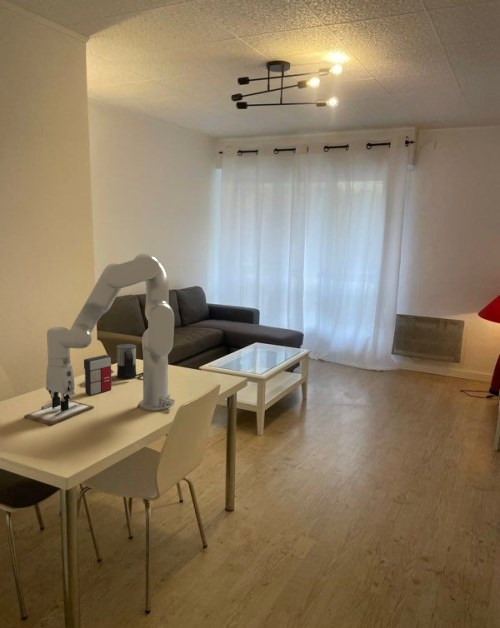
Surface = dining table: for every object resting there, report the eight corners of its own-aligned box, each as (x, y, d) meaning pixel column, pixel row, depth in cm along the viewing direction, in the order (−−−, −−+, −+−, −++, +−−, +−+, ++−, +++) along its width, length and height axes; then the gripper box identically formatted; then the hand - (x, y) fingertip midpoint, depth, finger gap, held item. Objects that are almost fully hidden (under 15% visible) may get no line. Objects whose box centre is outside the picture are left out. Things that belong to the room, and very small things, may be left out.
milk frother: (113, 375, 227) (112, 345, 225) (142, 370, 237) (142, 341, 235) (127, 383, 217) (127, 351, 214) (157, 377, 227) (157, 346, 225)
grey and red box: (90, 396, 198) (89, 361, 196) (84, 394, 201) (83, 359, 198) (112, 390, 207) (112, 356, 204) (106, 387, 209) (105, 354, 207)
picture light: (52, 417, 170) (52, 412, 170) (42, 416, 172) (42, 410, 171) (79, 405, 183) (79, 399, 183) (70, 403, 185) (69, 398, 184)
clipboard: (93, 408, 185) (93, 403, 185) (51, 425, 167) (51, 420, 167) (67, 401, 191) (67, 397, 191) (24, 417, 174) (24, 413, 173)
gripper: (83, 362, 174) (84, 410, 177) (51, 355, 181) (53, 402, 184) (67, 367, 167) (68, 417, 170) (34, 360, 175) (36, 408, 178)
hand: (60, 408), depth 177 cm, fingers closed on picture light, 3 cm apart
